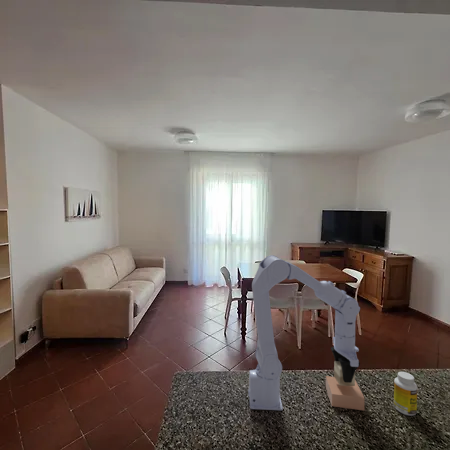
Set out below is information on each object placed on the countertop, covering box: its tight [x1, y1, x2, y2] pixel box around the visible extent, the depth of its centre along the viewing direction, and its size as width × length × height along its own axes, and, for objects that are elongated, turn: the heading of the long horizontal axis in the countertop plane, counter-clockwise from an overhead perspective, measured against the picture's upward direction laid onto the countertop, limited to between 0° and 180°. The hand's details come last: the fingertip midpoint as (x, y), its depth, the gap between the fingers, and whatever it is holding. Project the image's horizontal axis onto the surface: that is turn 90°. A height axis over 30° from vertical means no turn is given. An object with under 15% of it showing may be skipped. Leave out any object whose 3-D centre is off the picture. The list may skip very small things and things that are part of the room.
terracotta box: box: [325, 375, 365, 411], centre depth 80 cm, size 9×9×4 cm
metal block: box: [333, 360, 356, 386], centre depth 80 cm, size 4×4×5 cm
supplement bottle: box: [393, 371, 418, 417], centre depth 75 cm, size 6×6×10 cm
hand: (344, 376), depth 80 cm, fingers closed on metal block, 4 cm apart
